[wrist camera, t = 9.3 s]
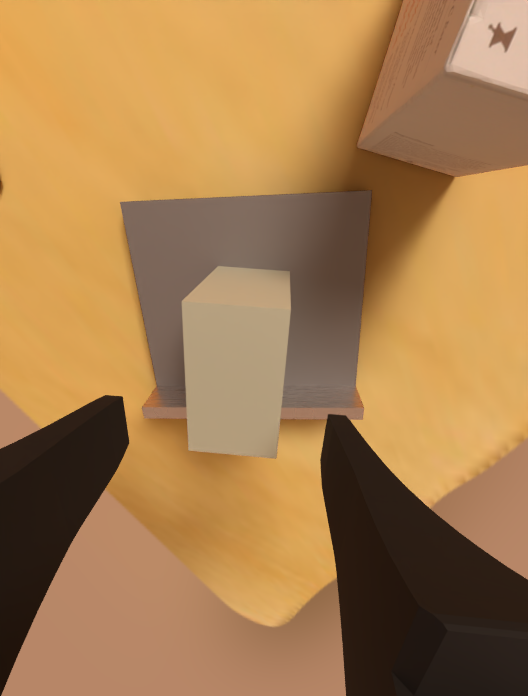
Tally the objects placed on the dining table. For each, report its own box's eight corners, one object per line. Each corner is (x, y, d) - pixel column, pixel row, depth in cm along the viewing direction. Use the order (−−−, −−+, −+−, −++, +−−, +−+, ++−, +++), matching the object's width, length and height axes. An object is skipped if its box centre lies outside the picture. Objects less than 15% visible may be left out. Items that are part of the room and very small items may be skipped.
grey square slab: (165, 389, 23) (145, 421, 20) (130, 201, 18) (94, 202, 15) (351, 388, 22) (362, 422, 19) (366, 191, 17) (385, 188, 14)
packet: (217, 375, 21) (187, 450, 15) (217, 265, 18) (180, 300, 12) (279, 380, 21) (276, 458, 15) (289, 271, 18) (290, 309, 12)
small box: (455, 179, 17) (671, 153, 7) (352, 148, 17) (438, 79, 7) (550, -30, 14) (1161, -563, 4) (423, -73, 13) (762, -747, 4)
